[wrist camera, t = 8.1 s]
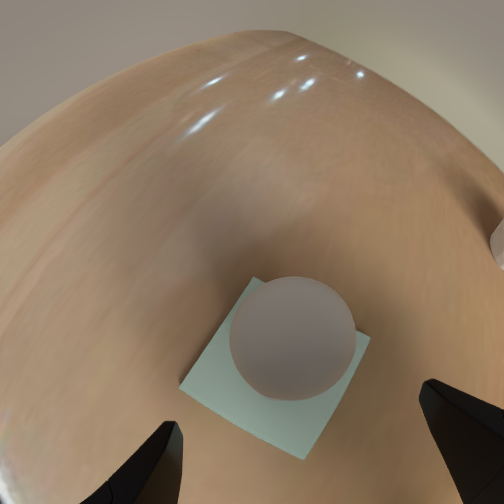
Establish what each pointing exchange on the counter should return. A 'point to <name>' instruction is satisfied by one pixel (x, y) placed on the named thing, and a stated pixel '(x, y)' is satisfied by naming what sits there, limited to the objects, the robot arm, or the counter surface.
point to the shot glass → (498, 244)
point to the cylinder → (292, 338)
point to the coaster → (255, 406)
